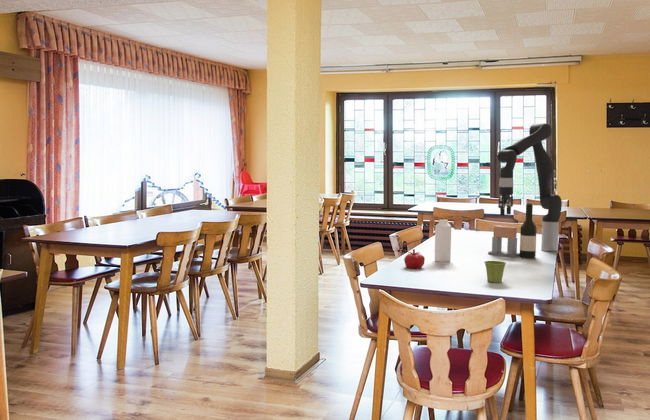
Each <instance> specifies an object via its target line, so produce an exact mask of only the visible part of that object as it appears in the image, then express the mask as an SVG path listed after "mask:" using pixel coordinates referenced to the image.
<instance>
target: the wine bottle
mask: <svg viewBox="0 0 650 420" xmlns="http://www.w3.org/2000/svg"><path fill="white" fill-rule="evenodd" d="M533 206H534V205H533V203H531V202H527V203H526V204H525V220H524V221H523V223H522V225H521V226H520V239H519V253H520V256H519V258H520V259H524V260H525V259H526V260H533V259H534V260H535V259H536V253H537V251H536V249H537V226H536V225H535V224H536V223H534V221H533V209H534V208H533Z"/></svg>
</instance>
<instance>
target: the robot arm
mask: <svg viewBox="0 0 650 420" xmlns="http://www.w3.org/2000/svg"><path fill="white" fill-rule="evenodd" d="M528 131H529V132H528V133H529V135H527V136H525V137H522V138H520V139H518V140H517V141H515V142H514V143H513V144H511V145H509V146H507V147H506V146H505V147H504V148H502V149H500V151H498V153H497V156H496V158H497V160H498V162H499V163H504V164H505V165H504V166H502V167H501V168H500V169H499V183H498V185H499V187H498V188H499V189H498V194H499V195H501V196H499V197H498V204H497V205H498V207H497V208H499V209H500V210H499V212H500V213H499V215H500V216H502V217H503V216H505V214H506V215H511V214H512V207H513V206H514V196H513V195H514V169H515V166H516V163H517V158H518V156H520V155H522V154H523V153H524V152H525V151H526V150H529V149H530V148H531V147H532V149H533V150H532V151H533V154H534V159H535V168H536V173H537V179H538V188H539V203H540V204H539V205H540V206H541V207H542V209H544V210H547V213H546V215H543V216H542V222H541V223H542V224H541V226H542V227H541V247H540V248H541V249H540V250H541V251H544V252H558V251H559V227H560V226H559V225H560V219H561V215H562V207H563V206H562V203H563V202H562V201H563V200H562V198H561V196H560V195H559V194H555V193H554V194H553V193H552V192H551V182H552V179H553V176H554V172H555V171H554V165H553V160H552V158H551V157H550V155H549V154H548V152H547V151H546V149H545V148H544V146H543V142H542V141H545V140H547V139H549V138H550V137H551V135H552V127H551V125H550V124H548V123H546V122H545V123H534V124H532V125H530V127H529V130H528ZM505 209H506V211H505Z"/></svg>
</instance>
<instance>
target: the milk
mask: <svg viewBox="0 0 650 420" xmlns="http://www.w3.org/2000/svg"><path fill="white" fill-rule="evenodd" d="M434 228H435V229H434V262H435V261H436V262H439V263H446V262H451V259H452V257H451V256H452V255H451V254H452V252H451V251H452V250H451V249H452V248H451V247H452V225H451V224H450V223H449V219H448V218H447V219H439V220H438V223H436V224H435V227H434Z"/></svg>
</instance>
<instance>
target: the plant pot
mask: <svg viewBox="0 0 650 420" xmlns="http://www.w3.org/2000/svg"><path fill="white" fill-rule="evenodd" d="M484 264H485V265H484V266H485V269H486V279H487V282H489V283H490V282H491V283H494V284H495V283H502V282H503V275H504V271H505V267H506V264H507V263H506V262H505V261H502V260H501V261H500V260H486V261H484Z"/></svg>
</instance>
